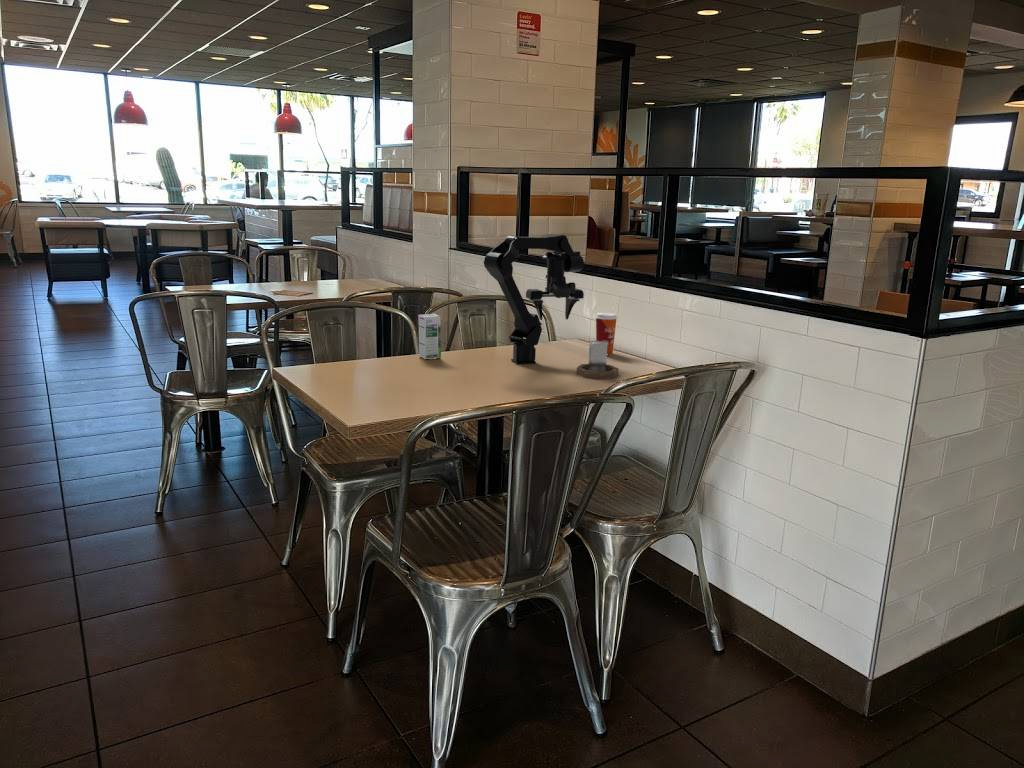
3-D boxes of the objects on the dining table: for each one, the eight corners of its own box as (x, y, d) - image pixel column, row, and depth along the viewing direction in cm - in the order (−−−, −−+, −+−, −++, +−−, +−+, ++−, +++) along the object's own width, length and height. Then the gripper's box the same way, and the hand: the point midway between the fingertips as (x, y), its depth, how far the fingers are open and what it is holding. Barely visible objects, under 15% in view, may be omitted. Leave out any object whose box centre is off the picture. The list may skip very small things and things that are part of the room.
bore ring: (588, 379, 230) (588, 373, 229) (571, 371, 241) (572, 364, 240) (623, 377, 234) (624, 370, 233) (605, 368, 245) (605, 362, 244)
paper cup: (608, 356, 263) (610, 316, 260) (589, 353, 268) (591, 313, 264) (619, 353, 269) (621, 313, 266) (600, 350, 274) (602, 311, 270)
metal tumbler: (589, 376, 235) (590, 344, 232) (587, 371, 240) (588, 340, 238) (607, 376, 235) (608, 344, 232) (604, 372, 240) (606, 340, 238)
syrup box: (425, 360, 251) (424, 316, 247) (418, 356, 256) (418, 313, 252) (441, 359, 253) (441, 315, 250) (434, 355, 258) (434, 313, 255)
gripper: (537, 275, 242) (535, 324, 246) (591, 275, 248) (589, 322, 252) (525, 272, 253) (524, 318, 256) (578, 271, 258) (576, 317, 262)
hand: (553, 319), depth 256 cm, fingers open, 9 cm apart
